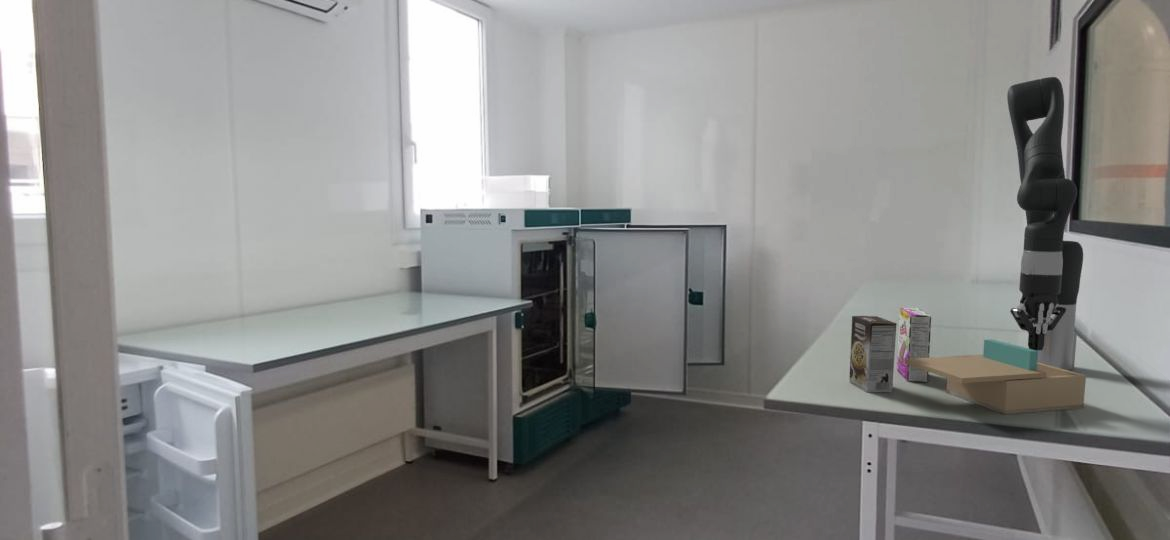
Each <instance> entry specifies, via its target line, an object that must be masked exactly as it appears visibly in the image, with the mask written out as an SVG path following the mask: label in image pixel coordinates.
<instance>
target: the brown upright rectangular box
mask: <svg viewBox="0 0 1170 540" xmlns="http://www.w3.org/2000/svg"><path fill="white" fill-rule="evenodd" d="M850 335H851V336H850V356H849V357H850V358H849V359H850V360H849V378H848V379H849V380H848V381H849V383H850V384H852V385H854V386H856V387H858V388H859V389H861V390H862V391H864V392H866V393H892V392H893V385H894V383H893V382H894V370H895V369H894V368H895V354H896V341H897V340H896V338H897V336H896V335H897V323H896V322H893V321H891V320H888V319H885V318H883V317H879V316H877V315H873V316H872V315H853V316H851V334H850Z"/></svg>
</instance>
